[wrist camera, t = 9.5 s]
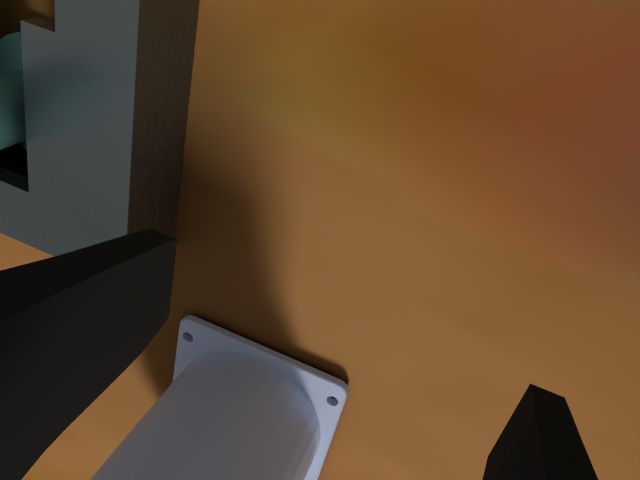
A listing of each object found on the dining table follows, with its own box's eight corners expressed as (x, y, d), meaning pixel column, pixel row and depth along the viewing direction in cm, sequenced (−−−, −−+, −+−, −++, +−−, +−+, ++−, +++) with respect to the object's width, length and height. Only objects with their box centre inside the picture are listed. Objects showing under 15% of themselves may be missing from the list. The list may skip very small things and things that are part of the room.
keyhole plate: (173, 245, 25) (124, 286, 22) (-54, 152, 27) (-125, 178, 24) (222, -222, 16) (152, -253, 14) (-112, -303, 19) (-232, -344, 16)
